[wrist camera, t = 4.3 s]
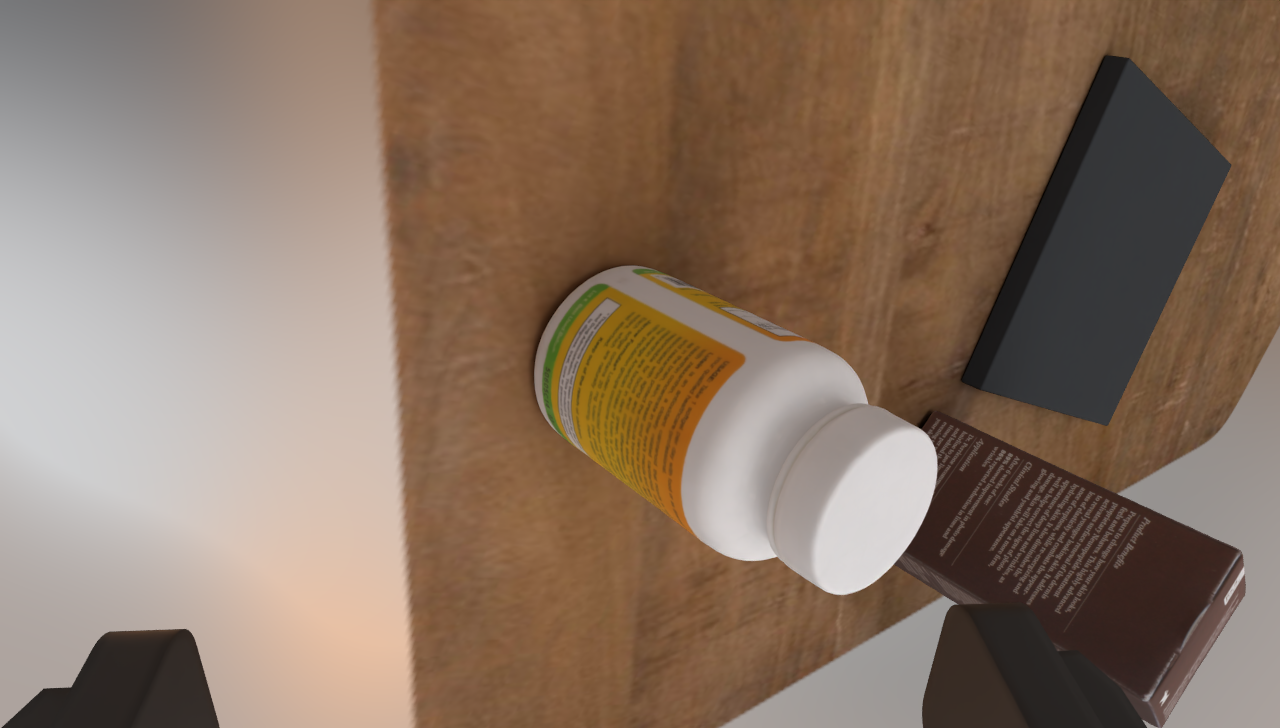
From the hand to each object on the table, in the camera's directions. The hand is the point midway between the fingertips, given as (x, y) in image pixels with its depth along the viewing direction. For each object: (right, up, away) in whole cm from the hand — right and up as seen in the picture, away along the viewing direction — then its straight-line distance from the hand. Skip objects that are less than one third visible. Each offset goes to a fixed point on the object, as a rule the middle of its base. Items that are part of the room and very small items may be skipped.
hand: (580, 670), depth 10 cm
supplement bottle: (0, +4, +17) cm, 17 cm away
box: (+12, -2, +30) cm, 32 cm away
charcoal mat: (+21, +8, +33) cm, 40 cm away
